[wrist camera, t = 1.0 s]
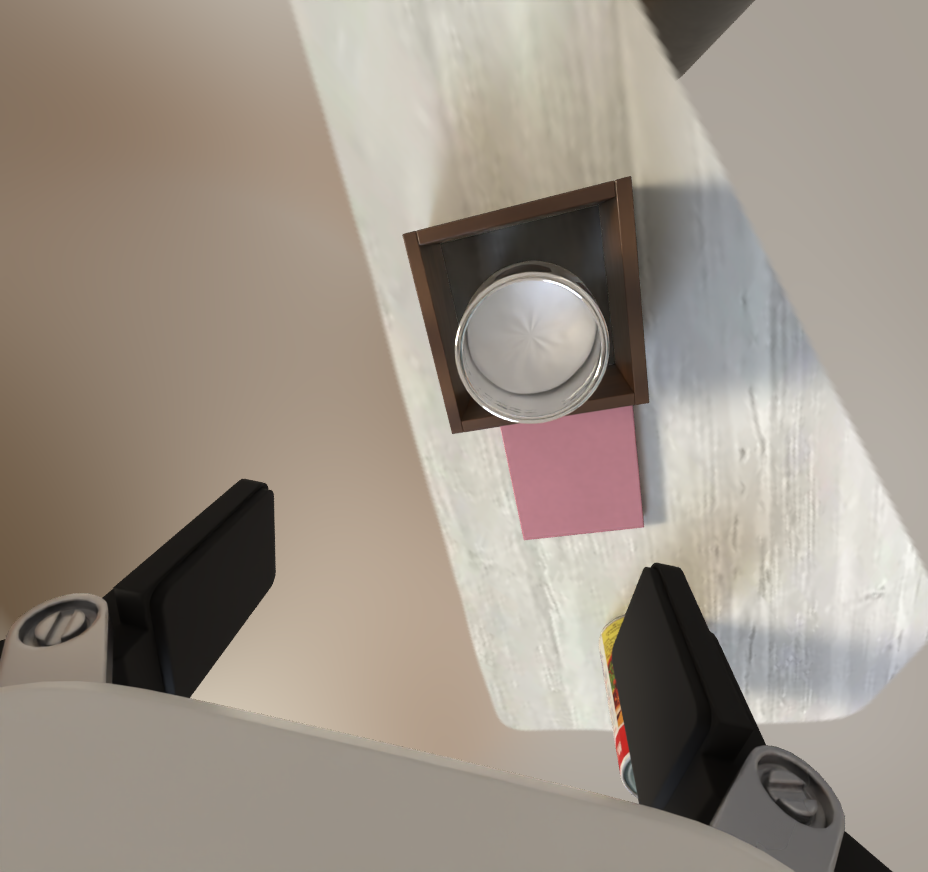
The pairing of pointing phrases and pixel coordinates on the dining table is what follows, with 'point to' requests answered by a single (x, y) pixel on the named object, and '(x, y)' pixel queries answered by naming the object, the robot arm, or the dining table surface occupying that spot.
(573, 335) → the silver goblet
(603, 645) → the canned food
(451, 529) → the dining table surface
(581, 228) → the dining table surface
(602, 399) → the brown wooden box
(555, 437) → the mat
